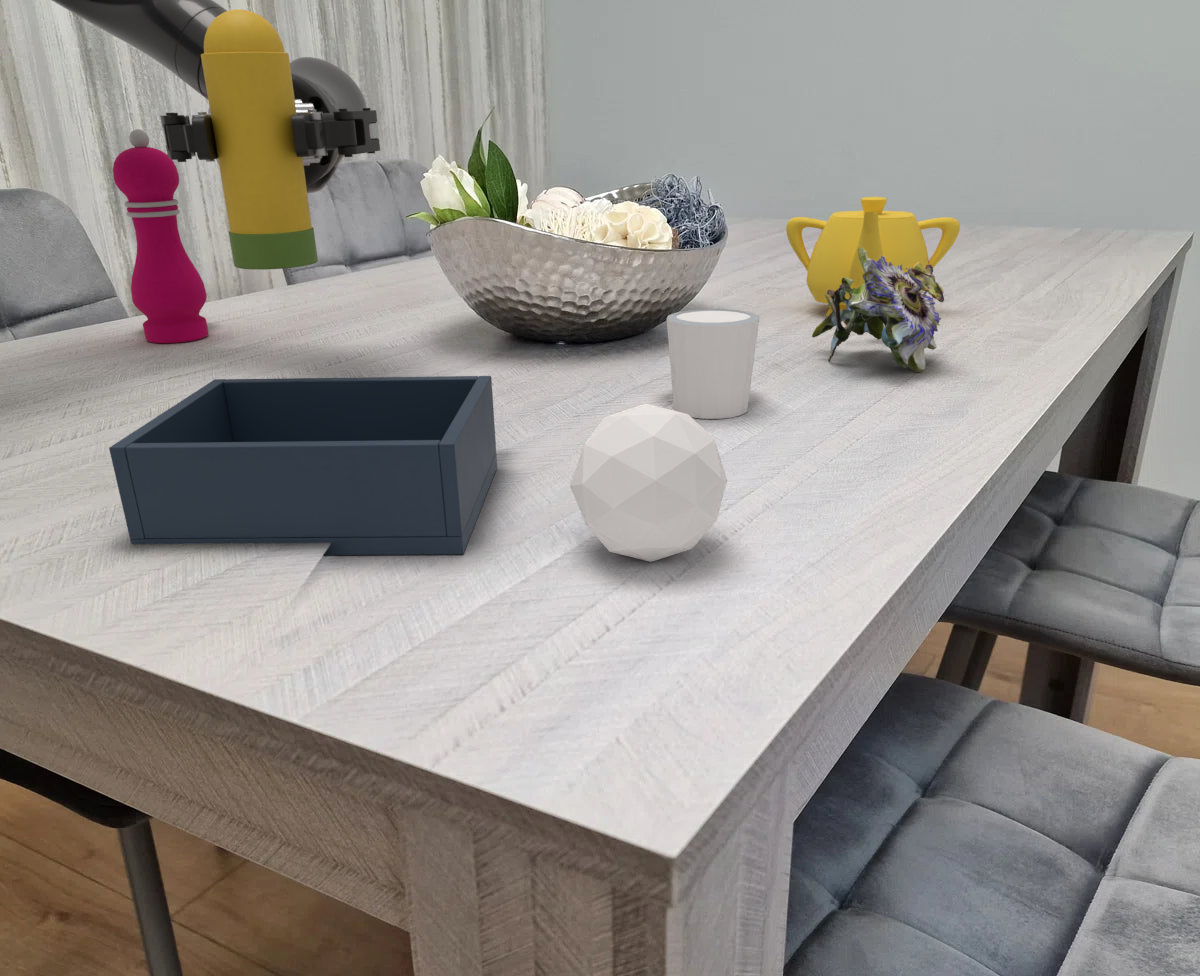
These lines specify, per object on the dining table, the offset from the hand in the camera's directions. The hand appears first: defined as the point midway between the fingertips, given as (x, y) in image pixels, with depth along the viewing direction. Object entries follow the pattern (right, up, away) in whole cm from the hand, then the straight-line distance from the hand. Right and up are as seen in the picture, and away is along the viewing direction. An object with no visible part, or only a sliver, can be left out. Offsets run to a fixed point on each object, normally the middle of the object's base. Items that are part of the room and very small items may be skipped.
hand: (250, 137), depth 59 cm
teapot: (+49, +5, +54) cm, 73 cm away
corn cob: (0, -5, +5) cm, 8 cm away
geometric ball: (+22, -24, -4) cm, 33 cm away
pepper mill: (-25, +1, +51) cm, 57 cm away
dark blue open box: (+4, -21, +3) cm, 21 cm away
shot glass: (+28, -12, +21) cm, 37 cm away
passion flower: (+44, -6, +33) cm, 55 cm away
